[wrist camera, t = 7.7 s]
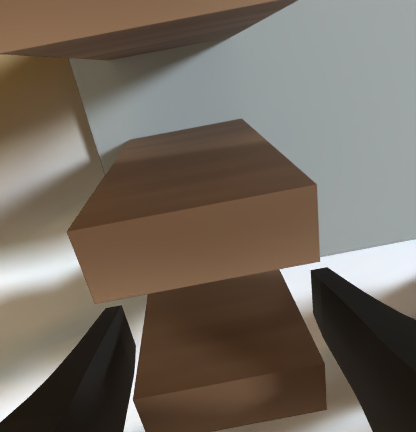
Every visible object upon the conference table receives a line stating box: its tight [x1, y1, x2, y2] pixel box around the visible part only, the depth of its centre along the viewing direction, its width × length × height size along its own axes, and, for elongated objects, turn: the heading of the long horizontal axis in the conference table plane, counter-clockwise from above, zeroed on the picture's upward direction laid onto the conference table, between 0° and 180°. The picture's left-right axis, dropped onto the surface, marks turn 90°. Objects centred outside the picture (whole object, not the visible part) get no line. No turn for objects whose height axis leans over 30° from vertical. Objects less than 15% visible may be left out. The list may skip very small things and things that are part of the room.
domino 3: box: [133, 269, 327, 432], centre depth 13 cm, size 2×5×9 cm, turn 100°
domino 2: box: [67, 118, 320, 304], centre depth 11 cm, size 2×5×9 cm, turn 100°
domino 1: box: [0, 0, 298, 61], centre depth 9 cm, size 2×5×9 cm, turn 100°
